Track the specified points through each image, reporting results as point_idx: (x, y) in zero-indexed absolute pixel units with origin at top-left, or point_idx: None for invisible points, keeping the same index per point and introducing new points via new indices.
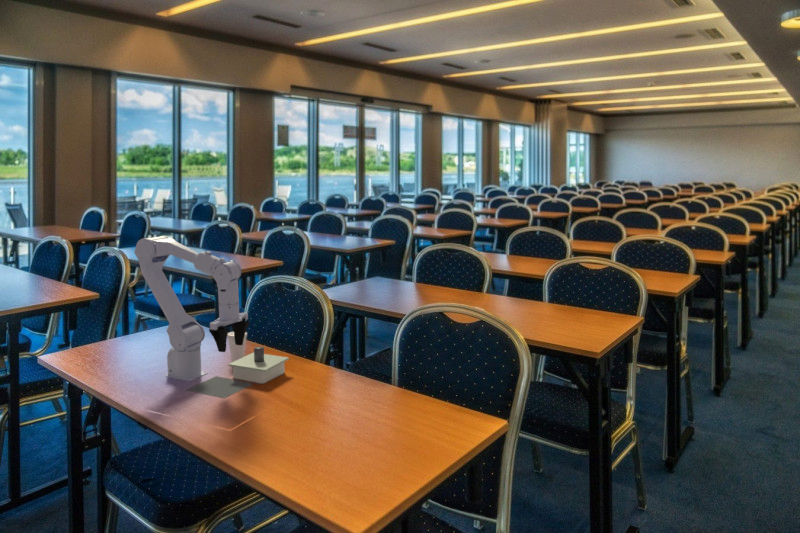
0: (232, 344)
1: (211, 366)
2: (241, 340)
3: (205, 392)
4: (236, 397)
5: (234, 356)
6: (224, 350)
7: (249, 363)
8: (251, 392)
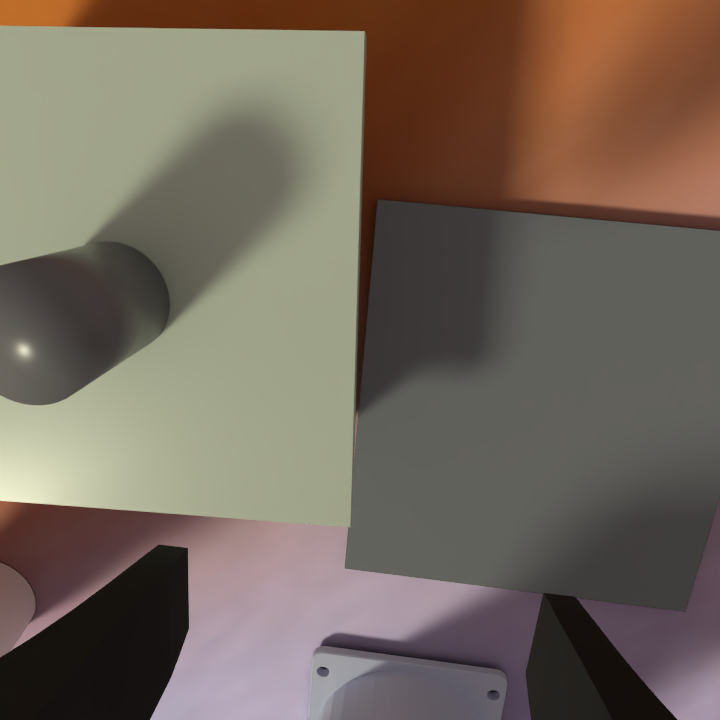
0: None
1: (164, 700)
2: (153, 593)
3: (702, 453)
4: (711, 166)
5: (2, 638)
6: (581, 609)
7: (240, 345)
8: (555, 108)
